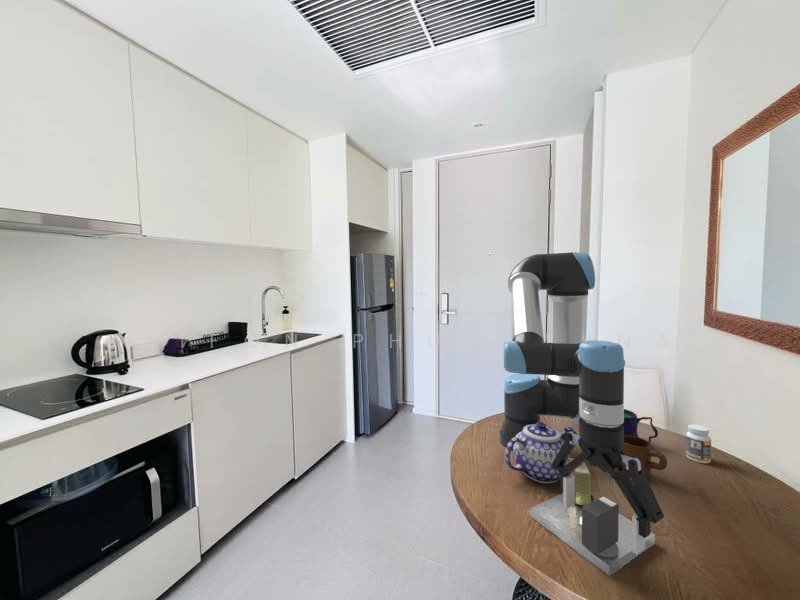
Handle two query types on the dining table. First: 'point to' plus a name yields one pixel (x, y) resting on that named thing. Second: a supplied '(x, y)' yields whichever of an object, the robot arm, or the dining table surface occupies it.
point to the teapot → (537, 451)
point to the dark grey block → (600, 527)
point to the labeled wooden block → (582, 485)
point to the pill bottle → (698, 444)
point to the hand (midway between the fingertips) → (600, 526)
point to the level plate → (570, 531)
